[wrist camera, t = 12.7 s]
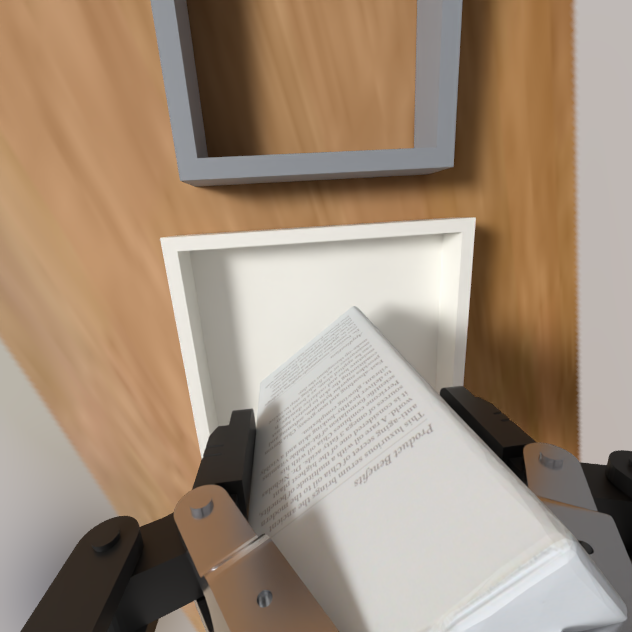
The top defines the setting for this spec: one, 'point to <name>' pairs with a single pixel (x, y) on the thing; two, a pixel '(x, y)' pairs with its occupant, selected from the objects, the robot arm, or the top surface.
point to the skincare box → (406, 503)
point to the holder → (425, 158)
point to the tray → (314, 301)
